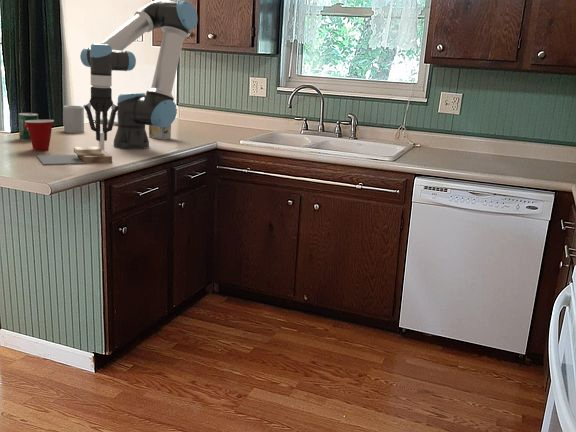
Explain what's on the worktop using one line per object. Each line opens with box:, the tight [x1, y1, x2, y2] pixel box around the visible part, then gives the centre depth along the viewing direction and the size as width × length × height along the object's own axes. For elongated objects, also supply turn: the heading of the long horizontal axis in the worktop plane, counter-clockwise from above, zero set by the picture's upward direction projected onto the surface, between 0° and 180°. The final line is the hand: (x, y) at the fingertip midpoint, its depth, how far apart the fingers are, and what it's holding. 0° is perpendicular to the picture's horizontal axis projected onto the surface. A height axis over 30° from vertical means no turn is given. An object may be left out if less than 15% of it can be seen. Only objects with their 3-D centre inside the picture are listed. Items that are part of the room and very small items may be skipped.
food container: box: [85, 108, 118, 126], centre depth 328 cm, size 12×30×6 cm, turn 59°
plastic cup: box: [25, 119, 55, 152], centre depth 241 cm, size 11×11×12 cm
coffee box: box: [148, 124, 172, 140], centre depth 291 cm, size 9×6×16 cm
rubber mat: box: [36, 154, 85, 166], centre depth 225 cm, size 14×16×1 cm
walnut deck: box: [76, 149, 113, 165], centre depth 231 cm, size 10×14×2 cm
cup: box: [63, 105, 85, 134], centre depth 291 cm, size 9×9×12 cm
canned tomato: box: [17, 112, 39, 142], centre depth 261 cm, size 8×8×11 cm
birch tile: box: [73, 146, 102, 156], centre depth 229 cm, size 9×6×2 cm, turn 120°
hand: (101, 149), depth 231 cm, fingers closed
